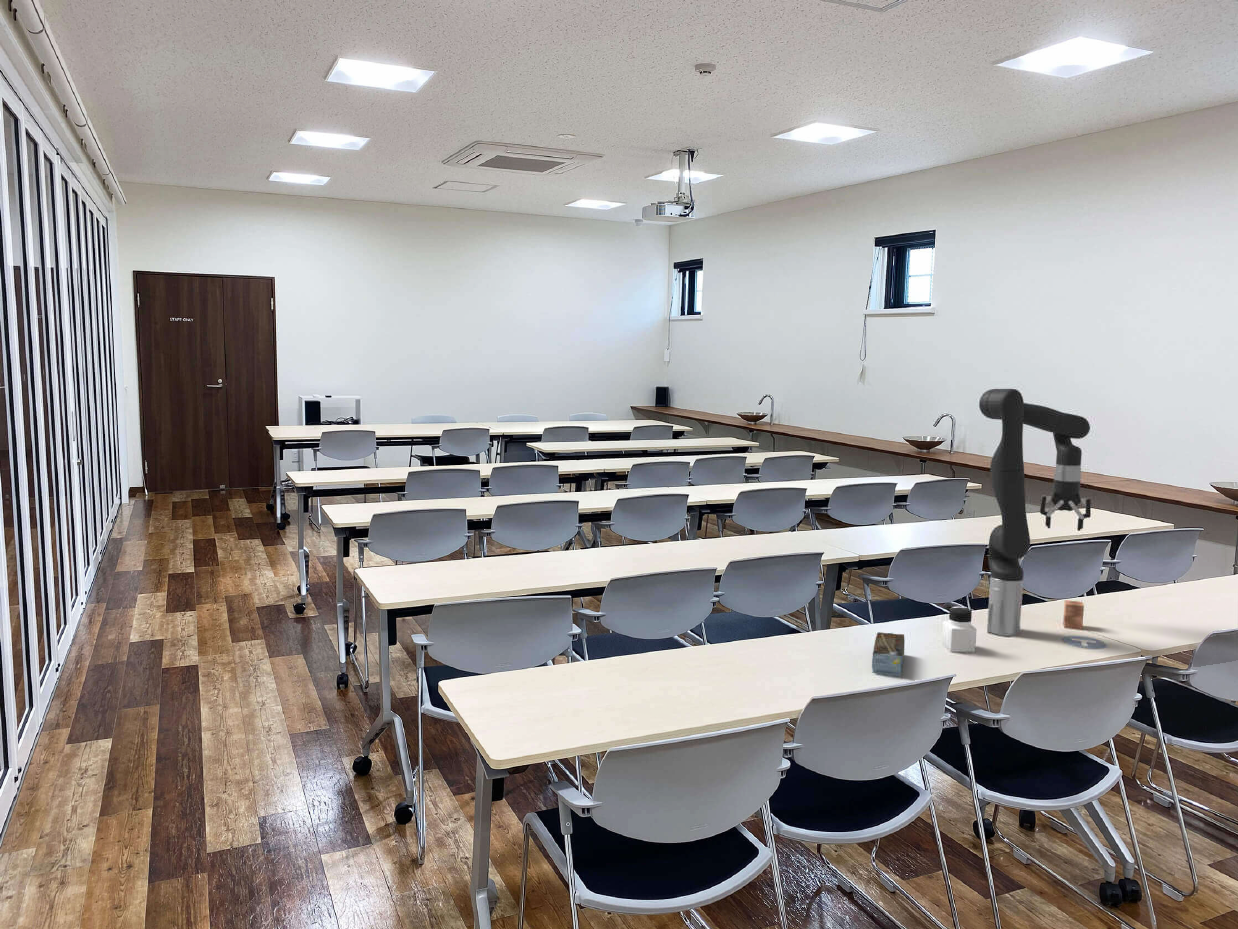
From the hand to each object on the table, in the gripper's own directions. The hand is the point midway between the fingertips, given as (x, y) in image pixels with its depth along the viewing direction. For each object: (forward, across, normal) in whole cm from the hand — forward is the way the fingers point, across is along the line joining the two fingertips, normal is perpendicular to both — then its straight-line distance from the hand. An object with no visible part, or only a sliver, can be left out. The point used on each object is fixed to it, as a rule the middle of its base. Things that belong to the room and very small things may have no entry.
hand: (1063, 529), depth 278 cm
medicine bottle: (+30, -28, -42) cm, 59 cm away
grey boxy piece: (+31, -45, -64) cm, 84 cm away
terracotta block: (+30, +4, -6) cm, 31 cm away
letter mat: (+30, +6, -22) cm, 37 cm away
